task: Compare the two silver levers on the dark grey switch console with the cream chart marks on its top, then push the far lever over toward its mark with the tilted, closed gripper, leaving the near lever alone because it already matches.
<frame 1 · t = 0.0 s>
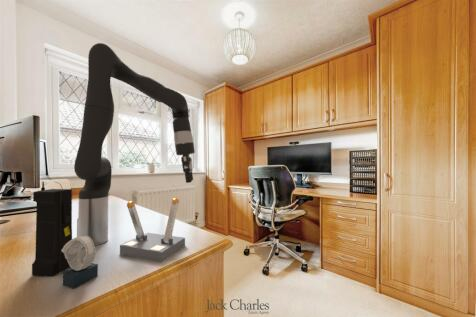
hand: (189, 181, 80), 22 cm above the table, tool pointing down, fingers open, 8 cm apart
stone sculpture on base: (80, 281, 49), on the table
switch console: (153, 249, 66), on the table
near lever: (135, 220, 66), point 10 cm above the table, hinge at 20.0°
portable radio: (55, 271, 54), on the table
far lever: (171, 219, 67), point 10 cm above the table, hinge at -20.0°
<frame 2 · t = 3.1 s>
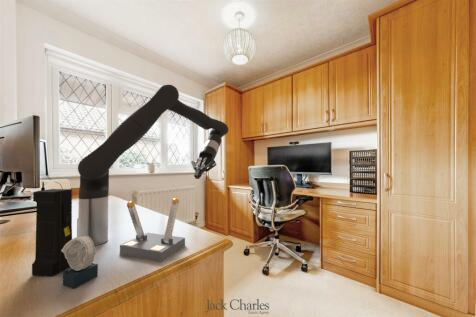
hand: (196, 177, 83), 24 cm above the table, tool tilted 45°, fingers closed
nothing on the table moved.
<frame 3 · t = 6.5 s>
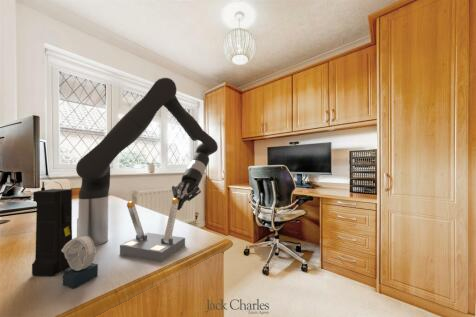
hand: (176, 208, 70), 13 cm above the table, tool tilted 45°, fingers closed
far lever: (171, 219, 67), point 10 cm above the table, hinge at -20.0°, touching gripper
everything else where it was.
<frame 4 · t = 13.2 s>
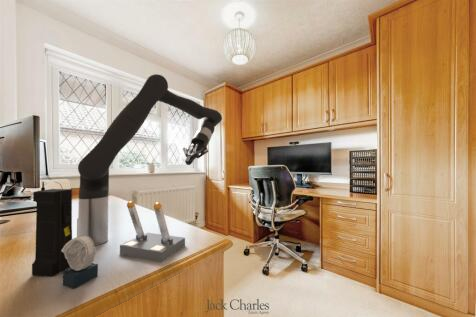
hand: (187, 163, 81), 30 cm above the table, tool tilted 45°, fingers closed
far lever: (162, 222, 63), point 10 cm above the table, hinge at 19.1°
everything else where it was.
at the end: far lever at +19° (first picture: -20°); near lever at +20° (first picture: +20°) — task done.
